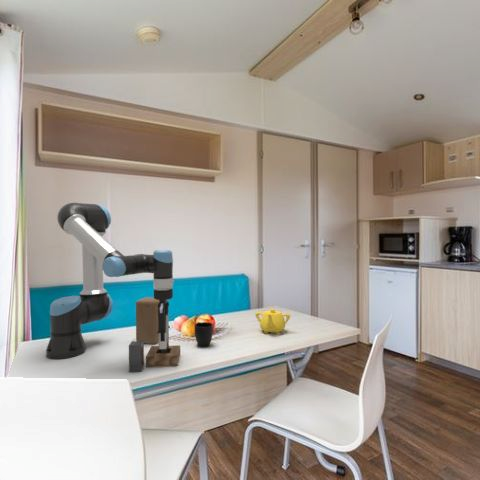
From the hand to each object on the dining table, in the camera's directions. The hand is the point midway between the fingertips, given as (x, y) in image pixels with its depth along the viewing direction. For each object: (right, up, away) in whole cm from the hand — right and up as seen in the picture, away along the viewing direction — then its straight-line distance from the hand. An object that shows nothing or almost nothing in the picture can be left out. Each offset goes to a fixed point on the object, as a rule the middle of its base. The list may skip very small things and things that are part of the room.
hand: (163, 346), depth 135 cm
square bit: (-8, -6, -9) cm, 13 cm away
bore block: (0, -6, 0) cm, 6 cm away
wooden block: (-12, -5, +25) cm, 28 cm away
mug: (+13, -5, +20) cm, 25 cm away
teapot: (+47, -5, +37) cm, 60 cm away
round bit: (0, -4, 0) cm, 4 cm away
